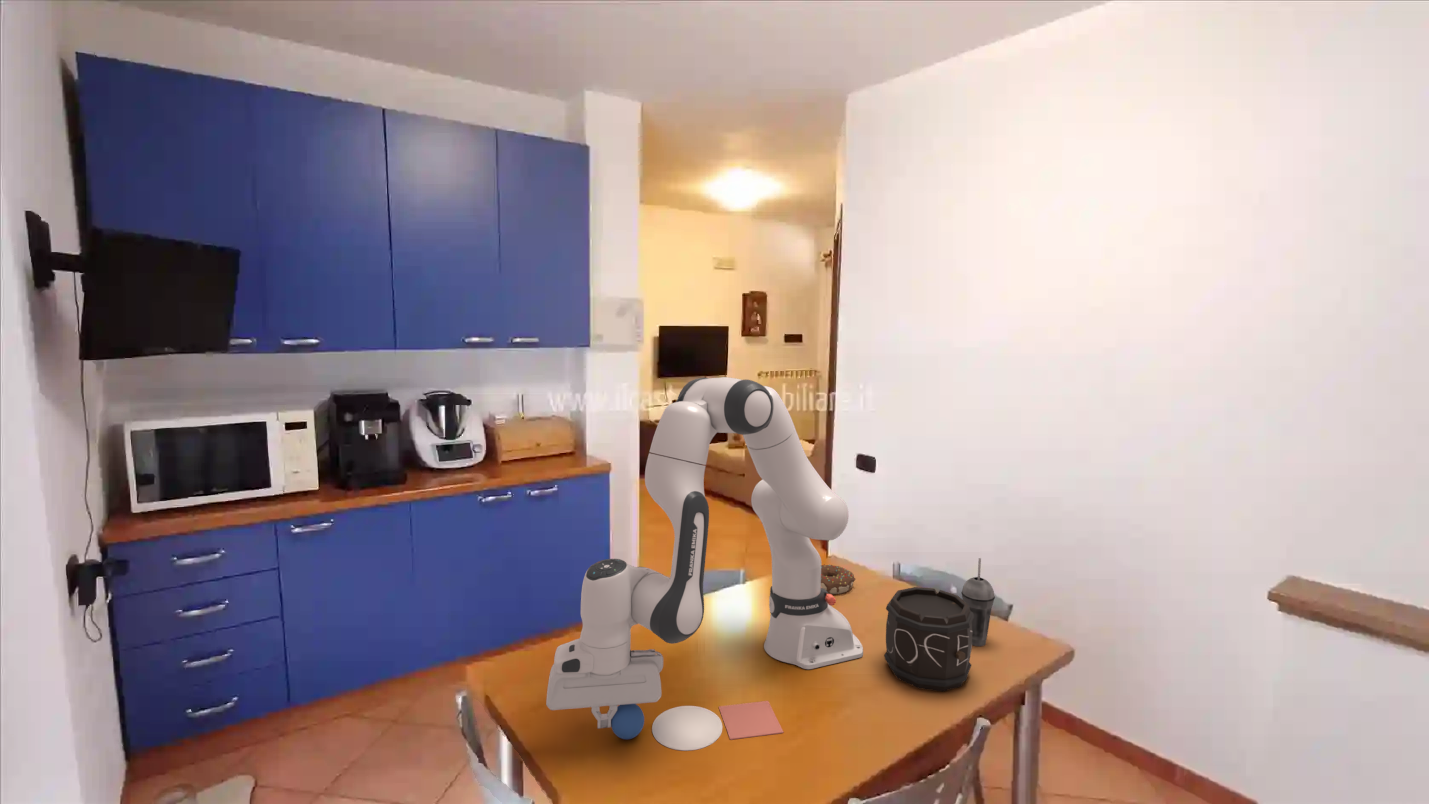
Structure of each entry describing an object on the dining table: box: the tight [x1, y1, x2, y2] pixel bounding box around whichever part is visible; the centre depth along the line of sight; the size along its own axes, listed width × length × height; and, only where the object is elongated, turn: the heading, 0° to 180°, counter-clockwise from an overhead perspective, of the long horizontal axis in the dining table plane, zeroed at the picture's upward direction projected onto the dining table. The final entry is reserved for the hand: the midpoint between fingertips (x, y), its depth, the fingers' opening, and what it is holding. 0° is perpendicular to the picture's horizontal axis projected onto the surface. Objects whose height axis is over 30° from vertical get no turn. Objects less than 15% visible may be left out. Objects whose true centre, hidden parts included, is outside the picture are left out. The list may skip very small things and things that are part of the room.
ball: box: [610, 704, 645, 740], centre depth 116 cm, size 6×6×6 cm
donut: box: [821, 564, 856, 595], centre depth 183 cm, size 14×14×5 cm
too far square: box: [718, 700, 784, 741], centre depth 121 cm, size 10×10×1 cm
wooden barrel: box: [883, 586, 974, 692], centre depth 137 cm, size 18×18×16 cm
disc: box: [651, 705, 723, 752], centre depth 118 cm, size 13×13×1 cm
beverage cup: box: [961, 557, 996, 647], centre depth 150 cm, size 7×7×20 cm
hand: (604, 726), depth 115 cm, fingers closed
